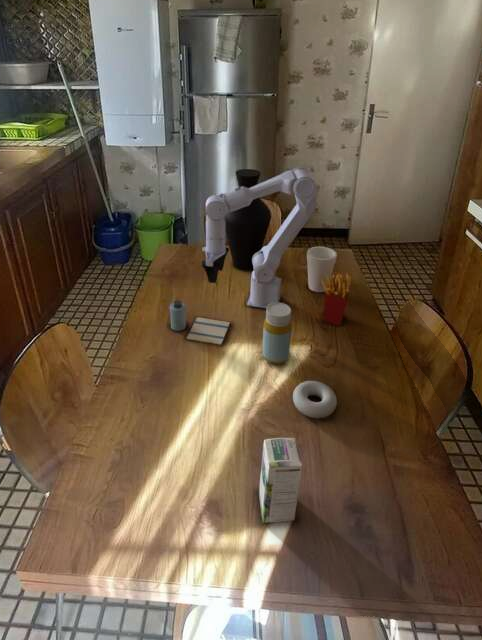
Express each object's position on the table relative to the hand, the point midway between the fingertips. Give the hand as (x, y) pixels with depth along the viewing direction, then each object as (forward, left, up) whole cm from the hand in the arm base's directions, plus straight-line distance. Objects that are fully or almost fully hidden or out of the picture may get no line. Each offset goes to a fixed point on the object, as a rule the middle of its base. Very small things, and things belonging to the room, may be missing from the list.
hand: (215, 275), depth 134 cm
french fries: (-36, -1, -10) cm, 37 cm away
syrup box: (-28, +61, -10) cm, 68 cm away
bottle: (-22, +21, -10) cm, 32 cm away
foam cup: (-31, -17, -10) cm, 37 cm away
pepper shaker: (+7, +15, -9) cm, 19 cm away
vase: (-4, -26, -10) cm, 28 cm away
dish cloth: (-2, +15, -9) cm, 18 cm away
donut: (-33, +35, -10) cm, 49 cm away
